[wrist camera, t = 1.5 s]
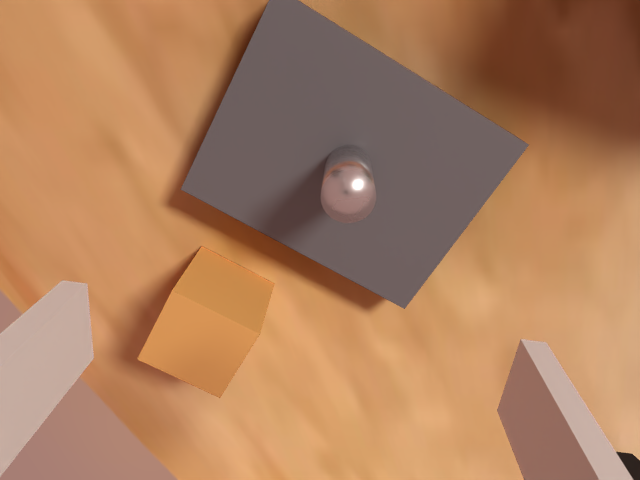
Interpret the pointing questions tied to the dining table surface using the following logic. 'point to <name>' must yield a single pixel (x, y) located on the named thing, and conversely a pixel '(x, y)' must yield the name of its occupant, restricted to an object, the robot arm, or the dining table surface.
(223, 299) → the orange toy cube
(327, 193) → the post
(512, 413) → the robot arm
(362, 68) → the dark gray slab
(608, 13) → the dining table surface
